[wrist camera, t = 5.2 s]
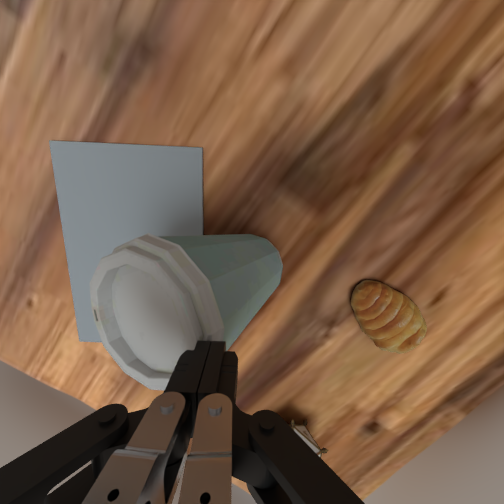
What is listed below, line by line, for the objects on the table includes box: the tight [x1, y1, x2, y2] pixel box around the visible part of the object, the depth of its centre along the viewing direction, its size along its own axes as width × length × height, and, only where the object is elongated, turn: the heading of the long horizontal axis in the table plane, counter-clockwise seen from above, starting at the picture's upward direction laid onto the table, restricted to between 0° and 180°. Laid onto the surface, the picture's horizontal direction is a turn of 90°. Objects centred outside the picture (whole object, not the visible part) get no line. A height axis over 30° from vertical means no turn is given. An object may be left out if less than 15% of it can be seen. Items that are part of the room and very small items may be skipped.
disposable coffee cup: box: [89, 233, 283, 390], centre depth 21 cm, size 11×11×15 cm
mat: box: [49, 141, 203, 342], centre depth 29 cm, size 24×16×1 cm, turn 177°
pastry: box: [351, 280, 427, 354], centre depth 29 cm, size 9×7×4 cm
